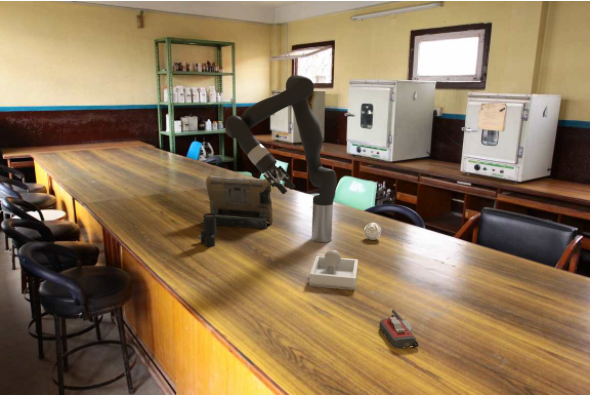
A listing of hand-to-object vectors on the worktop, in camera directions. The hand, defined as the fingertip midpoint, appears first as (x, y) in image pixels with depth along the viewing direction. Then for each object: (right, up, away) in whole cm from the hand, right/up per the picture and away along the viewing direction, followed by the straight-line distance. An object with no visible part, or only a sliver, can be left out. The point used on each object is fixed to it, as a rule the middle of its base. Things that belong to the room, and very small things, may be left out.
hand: (289, 190), depth 174 cm
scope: (-35, -23, +25) cm, 49 cm away
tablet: (-26, -16, +55) cm, 63 cm away
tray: (+17, -32, -7) cm, 37 cm away
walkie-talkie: (+31, -42, -42) cm, 67 cm away
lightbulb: (+15, -31, -9) cm, 35 cm away
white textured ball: (+38, -22, +37) cm, 58 cm away
